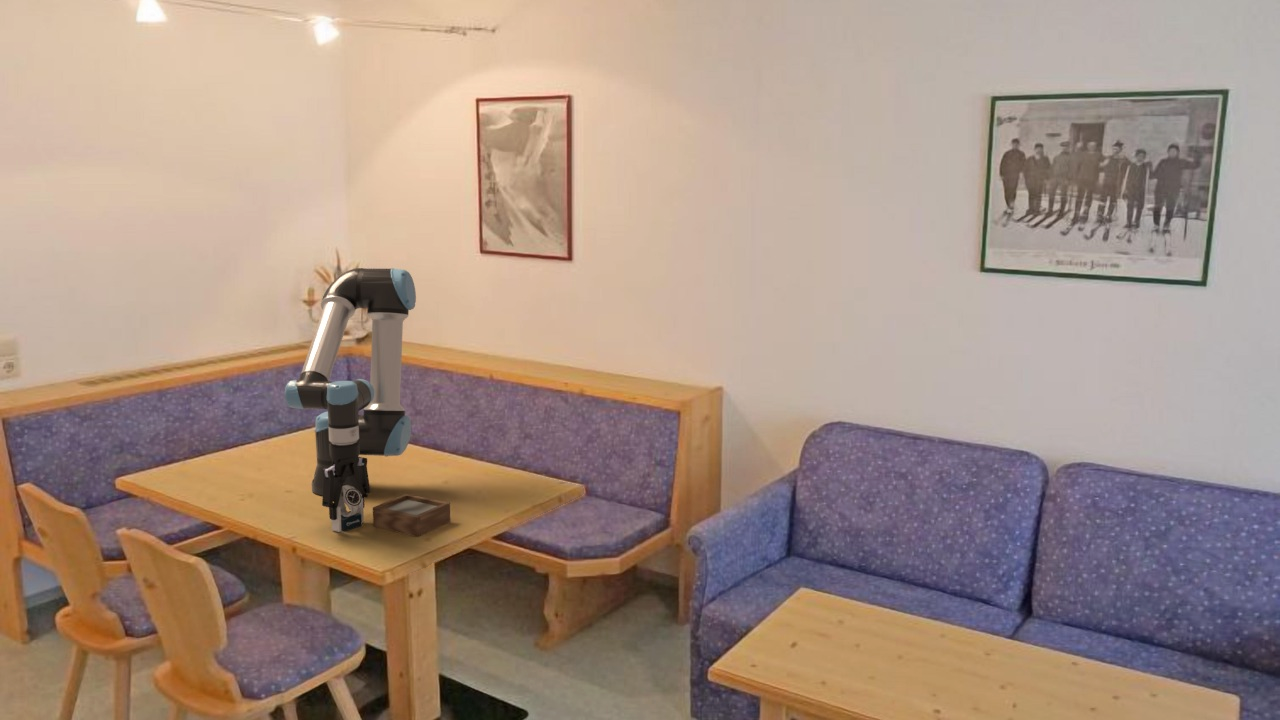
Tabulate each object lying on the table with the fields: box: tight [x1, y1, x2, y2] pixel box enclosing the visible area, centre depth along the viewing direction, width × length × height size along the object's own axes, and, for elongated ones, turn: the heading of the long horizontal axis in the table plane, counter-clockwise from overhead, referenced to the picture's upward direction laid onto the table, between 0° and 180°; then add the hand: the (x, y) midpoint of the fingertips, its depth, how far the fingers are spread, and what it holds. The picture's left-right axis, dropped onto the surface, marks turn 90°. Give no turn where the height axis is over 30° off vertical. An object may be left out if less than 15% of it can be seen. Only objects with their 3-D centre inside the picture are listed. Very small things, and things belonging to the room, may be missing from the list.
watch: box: [338, 485, 363, 532], centre depth 260 cm, size 6×8×11 cm
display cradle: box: [372, 493, 451, 538], centre depth 263 cm, size 15×13×5 cm
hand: (347, 525), depth 261 cm, fingers open, 7 cm apart
